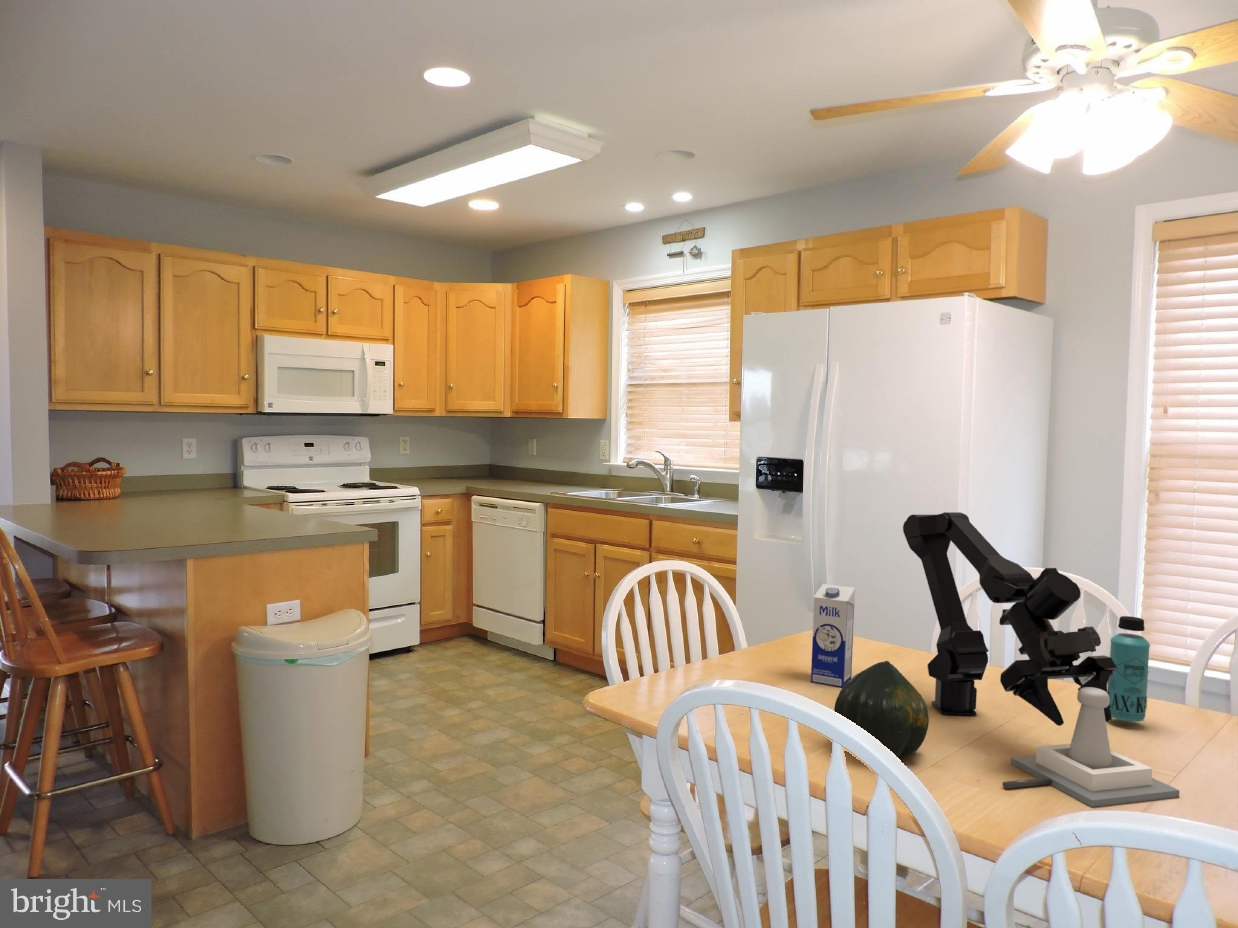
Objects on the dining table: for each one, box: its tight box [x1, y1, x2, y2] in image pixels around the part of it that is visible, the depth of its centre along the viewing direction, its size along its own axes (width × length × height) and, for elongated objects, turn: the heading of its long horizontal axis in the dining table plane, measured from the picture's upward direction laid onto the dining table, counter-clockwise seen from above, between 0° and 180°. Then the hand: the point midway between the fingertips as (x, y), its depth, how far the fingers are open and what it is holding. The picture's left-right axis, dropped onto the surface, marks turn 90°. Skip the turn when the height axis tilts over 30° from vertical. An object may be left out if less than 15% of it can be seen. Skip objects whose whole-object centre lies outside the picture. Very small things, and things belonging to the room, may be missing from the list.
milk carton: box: [810, 583, 856, 689], centre depth 178 cm, size 7×7×20 cm
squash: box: [833, 660, 930, 758], centre depth 140 cm, size 14×15×15 cm
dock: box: [1002, 743, 1180, 808], centre depth 129 cm, size 24×16×4 cm, turn 106°
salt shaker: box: [1069, 687, 1112, 770], centre depth 130 cm, size 6×6×13 cm
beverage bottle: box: [1107, 615, 1151, 723], centre depth 156 cm, size 6×7×20 cm
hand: (1085, 722), depth 132 cm, fingers open, 9 cm apart
